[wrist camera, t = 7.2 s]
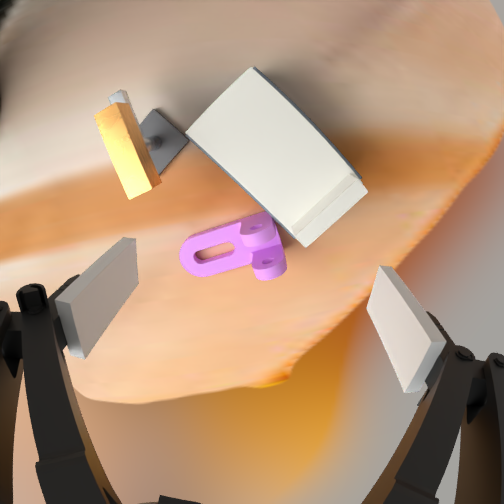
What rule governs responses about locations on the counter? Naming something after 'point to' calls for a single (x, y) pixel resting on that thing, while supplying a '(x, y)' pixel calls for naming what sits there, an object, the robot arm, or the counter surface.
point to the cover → (277, 157)
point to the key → (128, 145)
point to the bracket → (238, 248)
